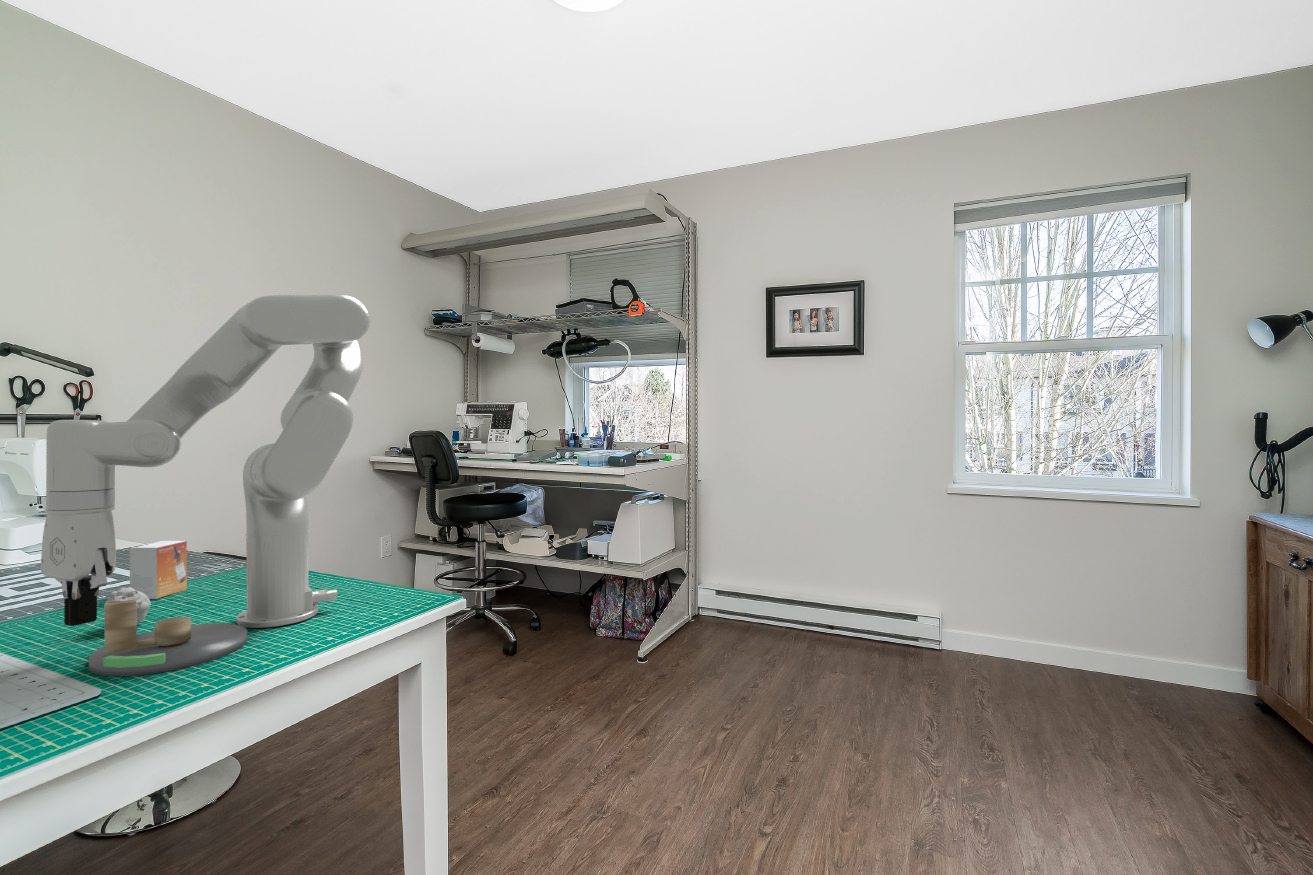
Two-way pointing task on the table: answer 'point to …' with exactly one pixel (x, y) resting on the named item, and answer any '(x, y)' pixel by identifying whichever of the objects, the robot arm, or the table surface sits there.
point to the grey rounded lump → (132, 594)
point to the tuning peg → (124, 628)
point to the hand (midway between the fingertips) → (80, 622)
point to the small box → (159, 568)
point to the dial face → (171, 652)
